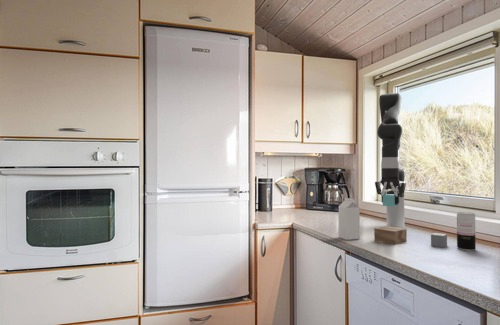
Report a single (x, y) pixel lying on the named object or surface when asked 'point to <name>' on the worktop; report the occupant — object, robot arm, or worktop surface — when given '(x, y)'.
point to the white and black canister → (466, 231)
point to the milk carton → (349, 220)
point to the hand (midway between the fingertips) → (390, 204)
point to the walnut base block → (390, 235)
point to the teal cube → (389, 200)
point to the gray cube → (439, 240)
